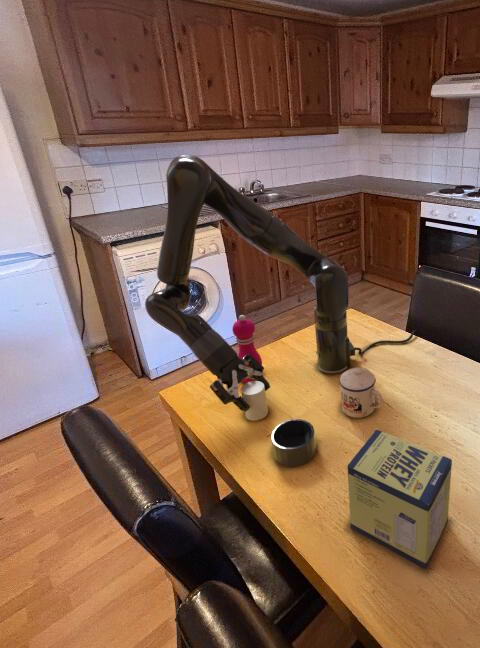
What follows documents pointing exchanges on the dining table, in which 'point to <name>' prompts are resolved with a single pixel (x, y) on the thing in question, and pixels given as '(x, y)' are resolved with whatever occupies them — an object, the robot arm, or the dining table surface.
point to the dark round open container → (293, 442)
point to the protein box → (399, 496)
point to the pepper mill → (246, 340)
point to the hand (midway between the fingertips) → (258, 399)
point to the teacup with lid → (359, 392)
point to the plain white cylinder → (255, 400)
